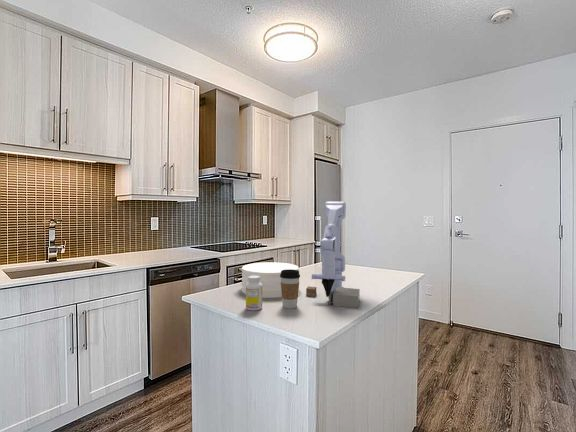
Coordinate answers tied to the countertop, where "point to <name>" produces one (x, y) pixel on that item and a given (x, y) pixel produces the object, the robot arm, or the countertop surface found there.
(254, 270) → the plate stack
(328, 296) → the tray
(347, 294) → the block
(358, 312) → the countertop surface
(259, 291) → the supplement bottle
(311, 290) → the brown cube
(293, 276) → the coffee cup
